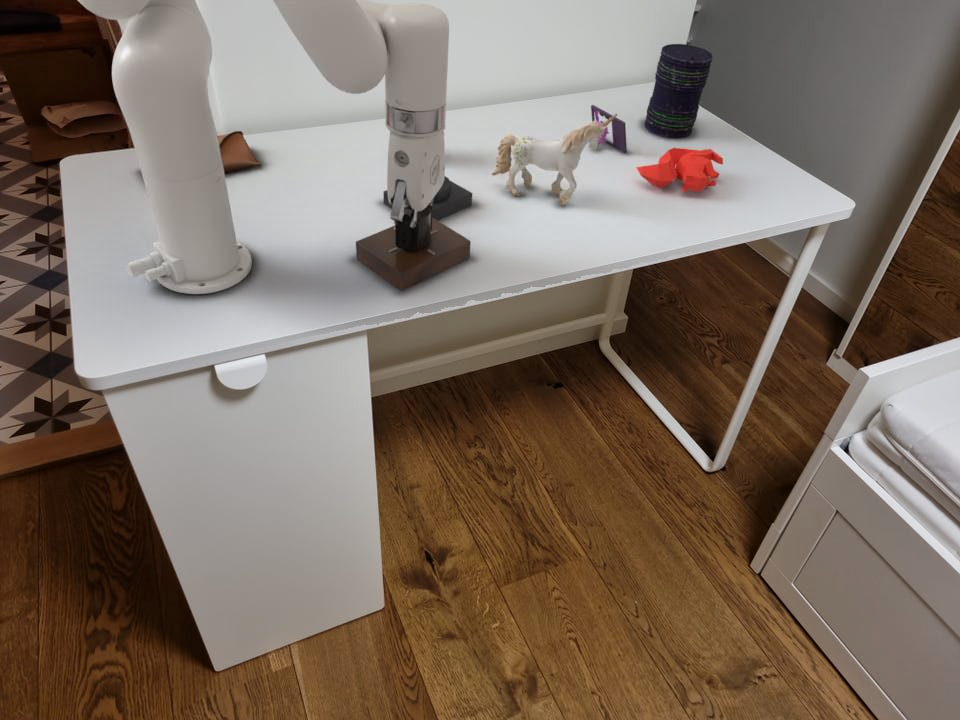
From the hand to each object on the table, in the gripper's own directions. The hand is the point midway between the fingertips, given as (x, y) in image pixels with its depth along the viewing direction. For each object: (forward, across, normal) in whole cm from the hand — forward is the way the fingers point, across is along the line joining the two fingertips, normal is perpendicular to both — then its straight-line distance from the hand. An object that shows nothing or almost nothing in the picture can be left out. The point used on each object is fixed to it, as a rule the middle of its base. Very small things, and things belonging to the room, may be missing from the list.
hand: (414, 237), depth 102 cm
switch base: (+4, +16, +4) cm, 16 cm away
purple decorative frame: (+4, +50, -19) cm, 54 cm away
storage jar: (+4, +64, -30) cm, 71 cm away
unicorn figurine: (+4, +29, -14) cm, 32 cm away
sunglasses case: (+4, +11, +42) cm, 43 cm away
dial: (+1, 0, 0) cm, 1 cm away
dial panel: (+4, 0, 0) cm, 4 cm away
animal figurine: (+4, +40, -34) cm, 53 cm away
